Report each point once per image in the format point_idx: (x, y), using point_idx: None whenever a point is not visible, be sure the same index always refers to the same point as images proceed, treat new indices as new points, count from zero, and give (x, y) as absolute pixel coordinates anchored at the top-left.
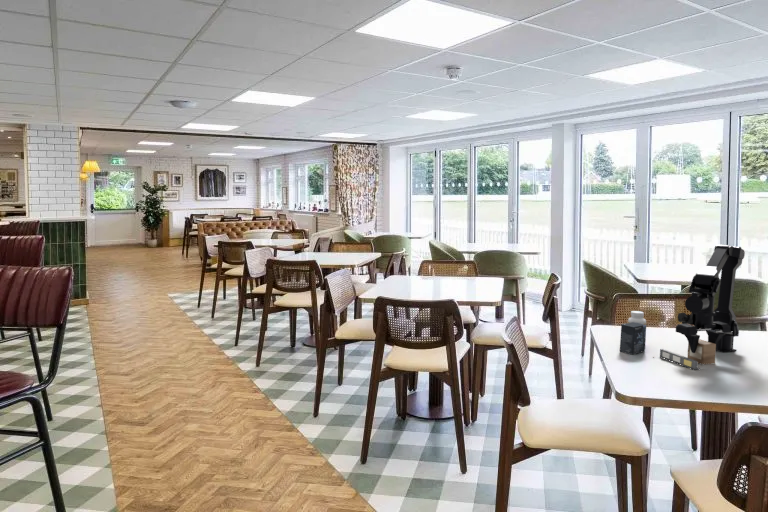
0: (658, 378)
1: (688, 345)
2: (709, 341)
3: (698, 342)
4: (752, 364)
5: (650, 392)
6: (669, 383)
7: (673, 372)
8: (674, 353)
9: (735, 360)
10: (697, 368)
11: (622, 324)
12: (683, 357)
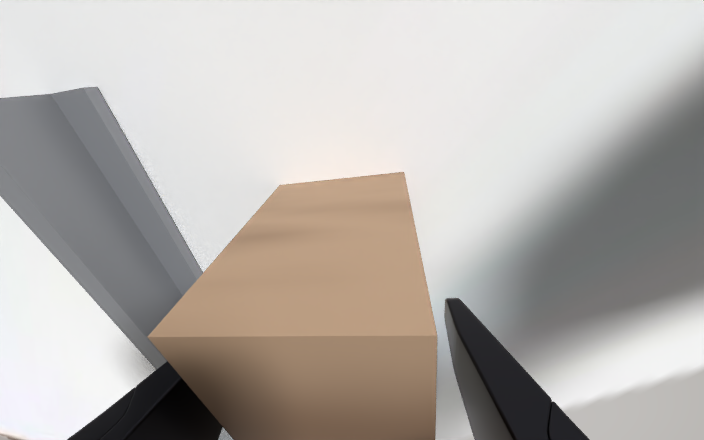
0: (48, 381)
1: (212, 268)
2: (493, 425)
3: (255, 432)
4: (645, 355)
5: (30, 429)
6: (83, 409)
7: (111, 354)
8: (86, 275)
9: (653, 279)
10: None
11: None
12: (141, 349)
